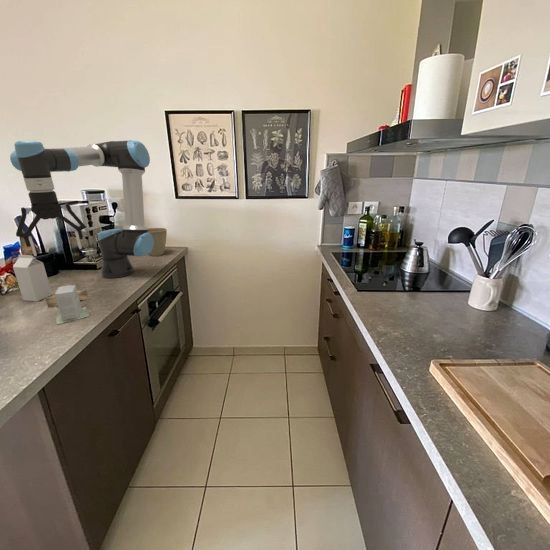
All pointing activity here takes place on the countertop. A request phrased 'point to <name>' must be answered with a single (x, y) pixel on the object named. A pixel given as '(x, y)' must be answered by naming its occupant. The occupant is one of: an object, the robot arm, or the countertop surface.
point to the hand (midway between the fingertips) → (58, 251)
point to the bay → (52, 302)
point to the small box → (68, 302)
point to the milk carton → (31, 278)
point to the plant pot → (158, 240)
